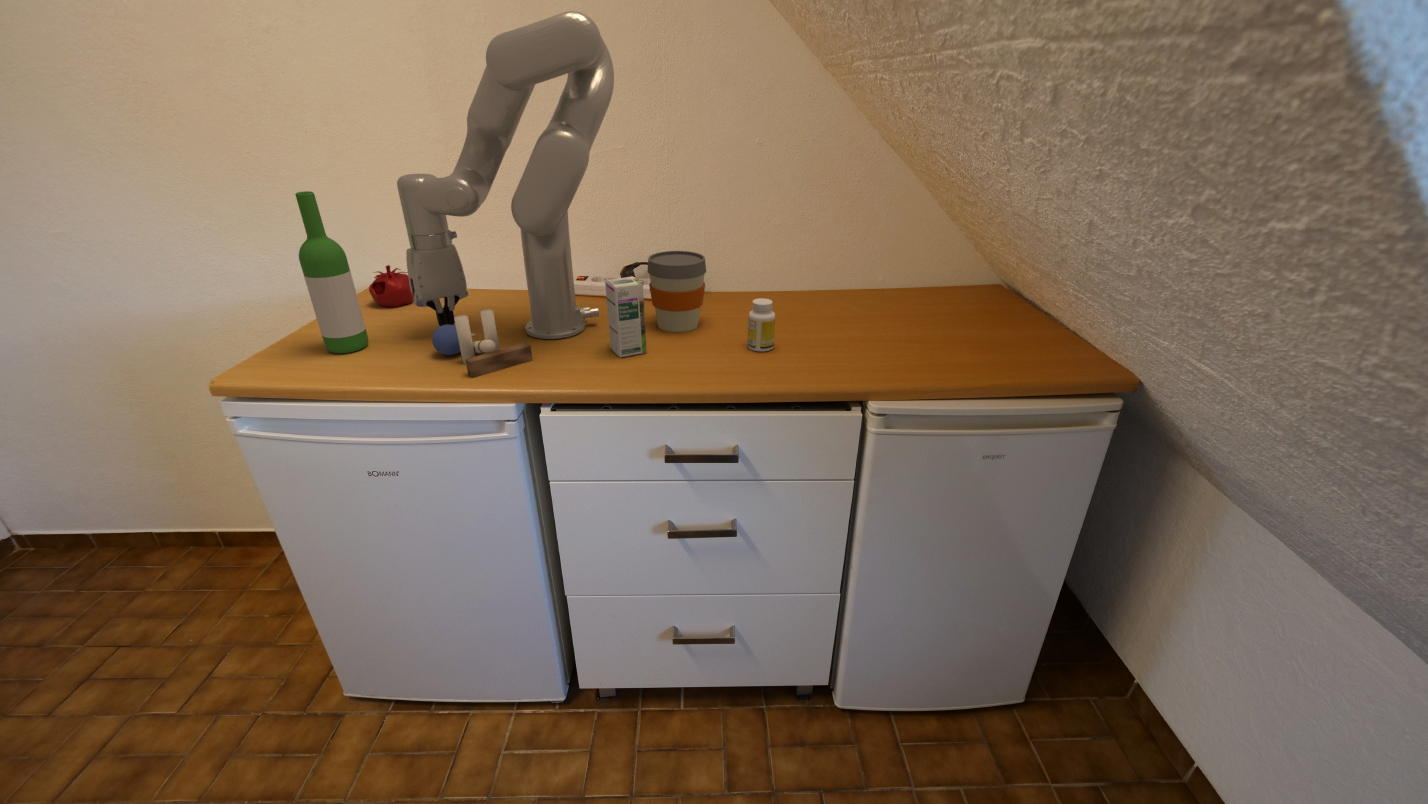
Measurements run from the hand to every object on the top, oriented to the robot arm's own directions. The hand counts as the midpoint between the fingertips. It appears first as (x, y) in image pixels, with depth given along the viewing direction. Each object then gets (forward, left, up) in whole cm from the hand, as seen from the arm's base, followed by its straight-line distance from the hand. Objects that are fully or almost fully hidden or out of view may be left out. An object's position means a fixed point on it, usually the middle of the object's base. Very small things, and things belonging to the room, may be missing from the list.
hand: (447, 328), depth 132 cm
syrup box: (-31, +25, -2) cm, 40 cm away
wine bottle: (+19, -1, -2) cm, 19 cm away
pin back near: (-7, +15, -2) cm, 17 cm away
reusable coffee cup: (-46, +16, -2) cm, 49 cm away
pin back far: (-2, +16, -2) cm, 17 cm away
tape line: (-1, +3, -2) cm, 4 cm away
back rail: (-7, +22, -2) cm, 23 cm away
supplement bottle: (-56, +35, -2) cm, 66 cm away
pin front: (-3, +12, 0) cm, 13 cm away
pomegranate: (+9, -27, -2) cm, 29 cm away
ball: (+1, +11, +2) cm, 11 cm away
